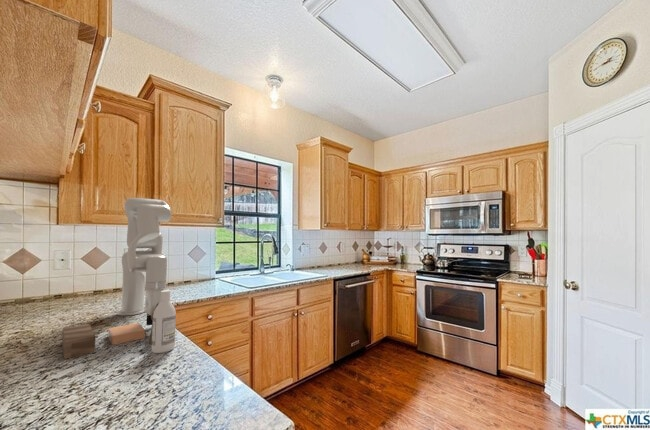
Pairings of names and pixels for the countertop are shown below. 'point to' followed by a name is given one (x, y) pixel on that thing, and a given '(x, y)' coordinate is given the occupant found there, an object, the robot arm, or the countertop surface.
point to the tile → (126, 333)
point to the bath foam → (164, 325)
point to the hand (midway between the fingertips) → (154, 327)
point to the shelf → (78, 340)
